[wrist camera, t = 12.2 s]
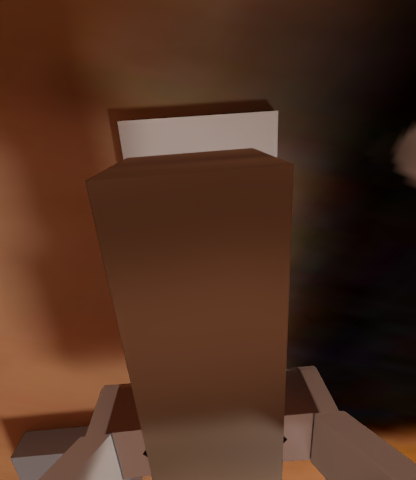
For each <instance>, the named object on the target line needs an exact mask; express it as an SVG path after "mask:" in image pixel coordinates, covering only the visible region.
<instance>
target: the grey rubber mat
mask: <svg viewBox="0 0 416 480" xmlns="http://www.w3.org/2000/svg"><path fill="white" fill-rule="evenodd" d="M117 123H118V129H119V136H120V142H121V148H122V154H123V160H124V159H126V158H131V157H144V156H156V155H169V154H182V153H195V152H207V151H220V150H233V149H245V148H254V149H257V150H259V151H262V152H264V153H267V154H269V155H272V156H274V157H277V141H278V111H265V112H250V113H235V114H220V115H205V116H190V117H174V118H159V119H144V120H129V121H117Z"/></svg>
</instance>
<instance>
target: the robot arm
mask: <svg viewBox="0 0 416 480" xmlns="http://www.w3.org/2000/svg"><path fill="white" fill-rule="evenodd" d="M299 460H311V462H312V463H313V465H314V466H315V467H316V468H317V469H318V470H319V471H320V472H321V474H322V475H323V476H324V477H325V478H326V479H327V480H416V463H414V462H413V461H411V460H410V459H409V458H407V457H406V456H405V455H403V454H402V453H401V452H399V451H398V450H397V449H395V448H394V447H392V446H391V445H390V444H388V443H387V442H386V441H384V440H383V439H382V438H380V437H379V436H377V435H376V434H375V433H373V432H372V431H371V430H369V429H368V428H367V427H365V426H364V425H363V424H361V423H360V422H358V421H357V420H356V419H354V418H353V417H352V416H350V415H349V414H348V413H346V412H345V411H339V410H338V408H337V406H336V404H335V403H334V401H333V399H332V397H331V395H330V393H329V391H328V389H327V387H326V386H325V384H324V382H323V380H322V378H321V376H320V374H319V372H318V370H317V368H316V367H314V366H306V367H298V368H297V367H296V368H287V369H286V385H285V412H284V438H283V462H284V461H299ZM148 475H151V470H150V466H149V462H148V457H147V453H146V448H145V444H144V439H143V435H142V431H141V426H140V422H139V417H138V413H137V408H136V404H135V400H134V395H133V391H132V386H131V383H128V384H119V385H105V386H104V387H103V388H102V390H101V392H100V395H99V398H98V401H97V404H96V407H95V410H94V412H93V415H92V418H91V421H90V424H89V427H88V430H87V433H86V436H85V437H80V438H79V439H78V440H77V441H76V442H75V443H74V444H73V445H72V446H71V447H70V448H69V449H68V450H67V451H66V452H65V453H64V454H63V455H62V456H61V457H60V458H59V459H58V460H57V461H56V462H55V463H54V464H53V465H52V466H51V467H50V468H49V469H48V470H47V471H46V472H45V473H44V475H43V476H42V477H41V478H40V479H39V480H123V479H126V478H134V477H141V476H148Z"/></svg>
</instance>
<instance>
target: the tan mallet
mask: <svg viewBox="0 0 416 480" xmlns="http://www.w3.org/2000/svg"><path fill="white" fill-rule="evenodd" d="M293 170H294V164H292V163H289V162H287V161H284V160H282V159H279V158H277V157H274V156H272V155H269V154H267V153H264V152H262V151H259V150H257V149H254V148H245V149H233V150H220V151H207V152H195V153H182V154H169V155H156V156H144V157H131V158H126V159H124V160H122V161H120V162H119V163H117V164H115V165H113V166H111V167H110V168H108V169H106V170H104V171H102V172H101V173H99V174H97V175H95V176H93V177H92V178H90V179H88V180H86V181H85V182H86V187H87V191H88V196H89V200H90V205H91V209H92V213H93V218H94V222H95V227H96V231H97V236H98V240H99V244H100V249H101V253H102V258H103V262H104V267H105V271H106V275H107V280H108V284H109V289H110V293H111V298H112V302H113V306H114V311H115V315H116V320H117V324H118V329H119V333H120V338H121V342H122V346H123V351H124V355H125V360H126V364H127V369H128V373H129V377H130V382H131V386H132V391H133V395H134V400H135V404H136V408H137V413H138V417H139V422H140V426H141V431H142V435H143V439H144V444H145V448H146V453H147V457H148V462H149V466H150V470H151V475H152V479H153V480H282V465H283V438H284V412H285V385H286V358H287V331H288V304H289V277H290V250H291V224H292V197H293Z"/></svg>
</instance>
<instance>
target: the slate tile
mask: <svg viewBox="0 0 416 480" xmlns="http://www.w3.org/2000/svg"><path fill="white" fill-rule="evenodd" d="M88 427H89V426H83V427H72V428H61V429H50V430H39V431H28V432H25V433H24V435H23V437H22V438H21V440H20V442H19V444H18V446H17V447H16V449H15V451H14V453H13V454H12V456H11V461H12V463H13V465H14V467H15V469H16V471H17V474H18V476H19V478H20V480H39V479H40V478H41V477H42V476H43V475H44V473H45V472H46V471H47V470H48V469H49V468H50V467H51V466H52V465H53V464H54V463H55V462H56V461H57V460H58V459H59V458H60V457H61V456H62V455H63V454H64V453H65V452H66V451H67V450H68V449H69V448H70V447H71V446H72V445H73V444H74V443H75V442H76V441H77V440H78V439H79V438H80V437H85V436H86V433H87V430H88ZM123 480H143V479H142V476H141V477H134V478H126V479H123Z"/></svg>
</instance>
